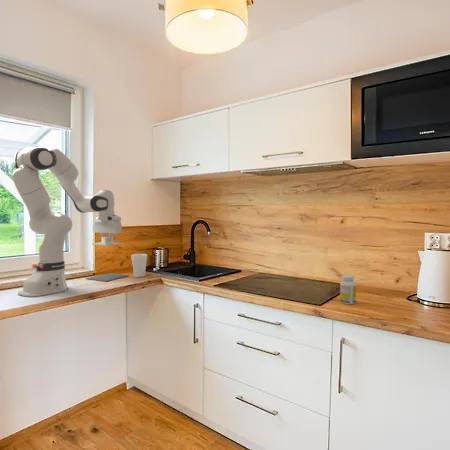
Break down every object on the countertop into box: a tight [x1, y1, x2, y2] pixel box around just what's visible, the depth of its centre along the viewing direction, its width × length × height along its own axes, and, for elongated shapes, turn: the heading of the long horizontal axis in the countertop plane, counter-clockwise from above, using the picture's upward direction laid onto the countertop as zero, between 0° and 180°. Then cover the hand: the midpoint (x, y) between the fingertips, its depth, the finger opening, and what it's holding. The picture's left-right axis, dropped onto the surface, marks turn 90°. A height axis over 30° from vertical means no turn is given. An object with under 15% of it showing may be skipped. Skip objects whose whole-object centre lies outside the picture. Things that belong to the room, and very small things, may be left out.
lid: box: [91, 236, 123, 247], centre depth 200 cm, size 12×12×4 cm
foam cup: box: [130, 253, 148, 278], centre depth 206 cm, size 10×9×13 cm
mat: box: [85, 272, 129, 283], centre depth 201 cm, size 18×16×1 cm
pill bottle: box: [339, 274, 357, 305], centre depth 146 cm, size 6×6×12 cm
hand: (107, 240), depth 200 cm, fingers closed on lid, 3 cm apart
